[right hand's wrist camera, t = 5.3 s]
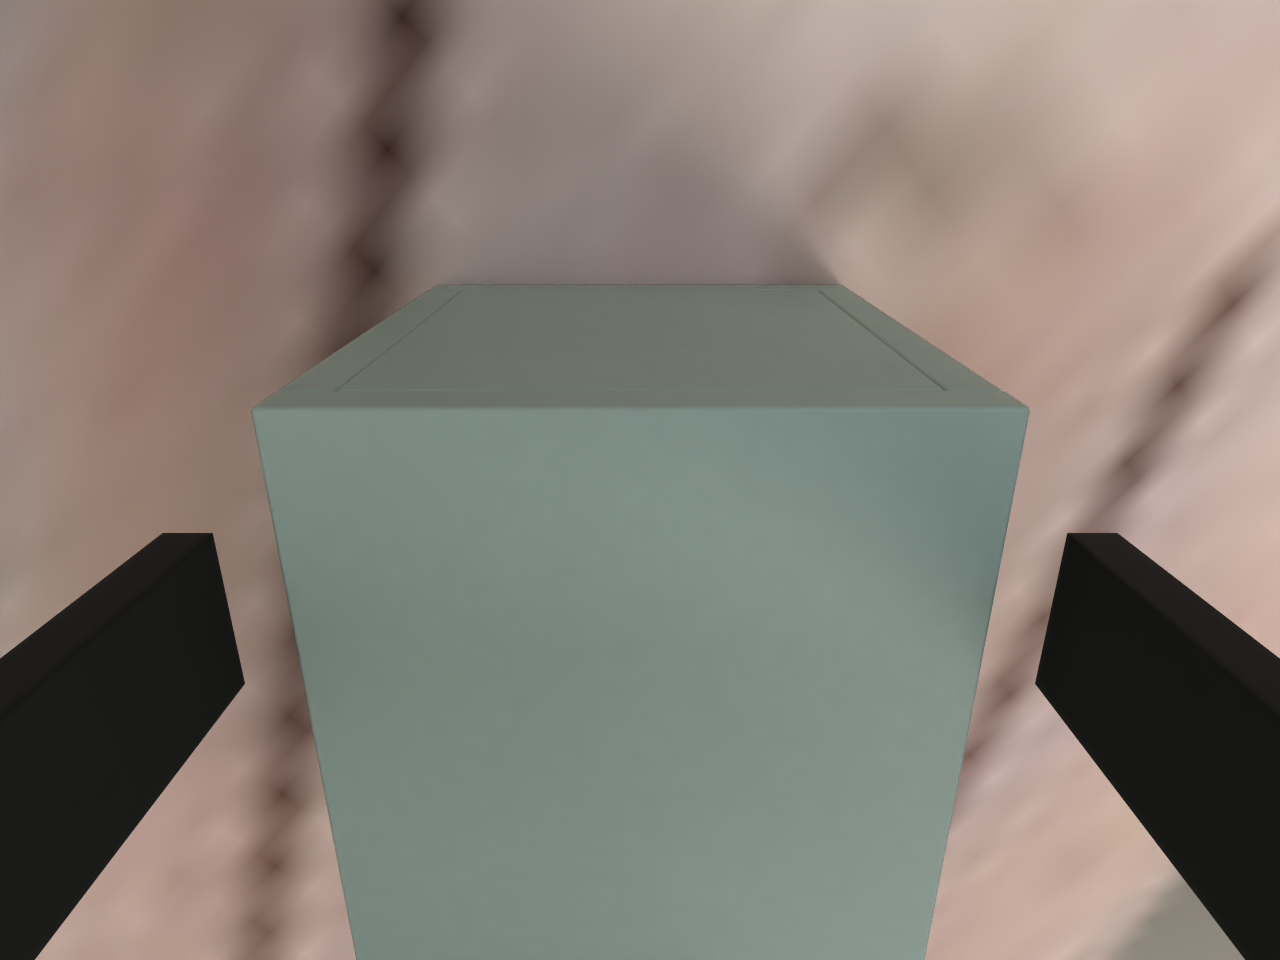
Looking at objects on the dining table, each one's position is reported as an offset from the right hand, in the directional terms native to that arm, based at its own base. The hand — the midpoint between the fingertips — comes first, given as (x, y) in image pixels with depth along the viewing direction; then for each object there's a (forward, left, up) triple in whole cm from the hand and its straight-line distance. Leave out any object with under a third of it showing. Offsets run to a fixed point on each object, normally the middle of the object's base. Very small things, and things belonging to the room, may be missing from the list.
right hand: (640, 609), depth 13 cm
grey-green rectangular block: (+4, +3, -9) cm, 11 cm away
